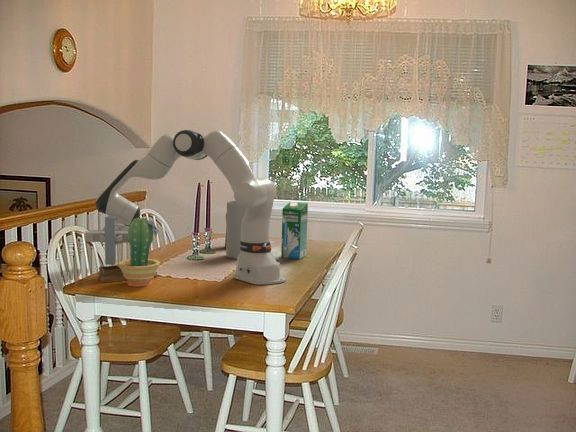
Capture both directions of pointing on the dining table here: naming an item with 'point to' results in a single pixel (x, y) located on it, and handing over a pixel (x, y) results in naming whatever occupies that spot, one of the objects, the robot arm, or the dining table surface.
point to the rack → (112, 274)
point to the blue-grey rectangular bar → (110, 240)
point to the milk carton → (294, 230)
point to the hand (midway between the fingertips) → (110, 239)
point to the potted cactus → (140, 254)
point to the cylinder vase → (234, 228)
